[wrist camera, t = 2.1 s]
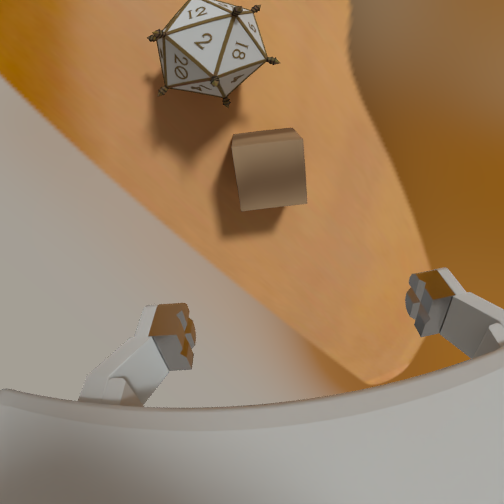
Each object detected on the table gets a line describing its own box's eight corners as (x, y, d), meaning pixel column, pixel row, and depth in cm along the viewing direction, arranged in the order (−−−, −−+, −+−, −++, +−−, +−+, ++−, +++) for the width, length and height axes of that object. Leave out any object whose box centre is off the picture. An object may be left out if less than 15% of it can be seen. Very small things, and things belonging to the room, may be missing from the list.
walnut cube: (233, 134, 25) (231, 147, 21) (292, 127, 25) (302, 139, 21) (241, 188, 28) (241, 211, 23) (296, 181, 27) (307, 203, 23)
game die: (231, 69, 25) (249, 146, 21) (140, 52, 21) (129, 130, 18) (277, -8, 18) (318, 50, 14) (172, -38, 14) (165, 4, 10)
